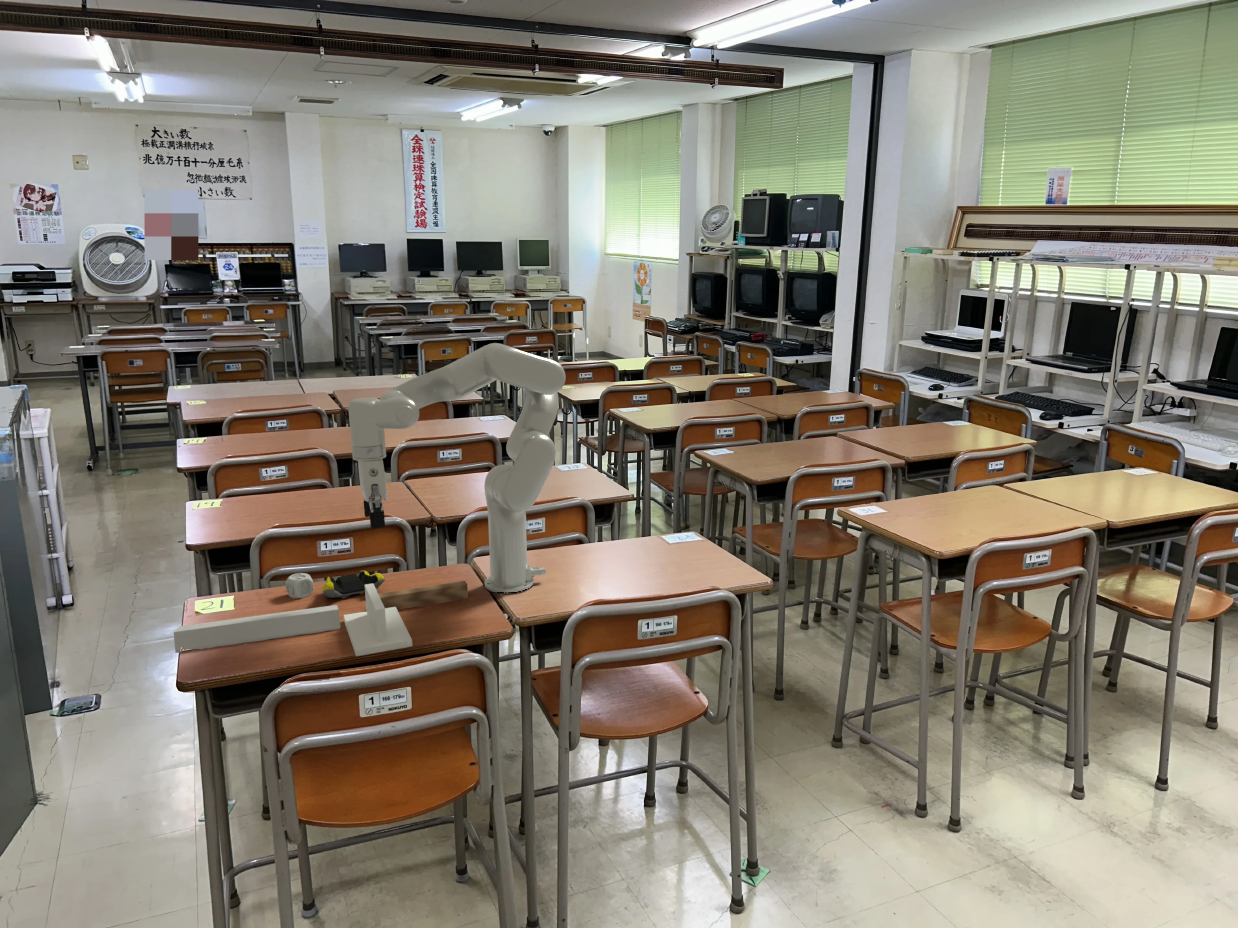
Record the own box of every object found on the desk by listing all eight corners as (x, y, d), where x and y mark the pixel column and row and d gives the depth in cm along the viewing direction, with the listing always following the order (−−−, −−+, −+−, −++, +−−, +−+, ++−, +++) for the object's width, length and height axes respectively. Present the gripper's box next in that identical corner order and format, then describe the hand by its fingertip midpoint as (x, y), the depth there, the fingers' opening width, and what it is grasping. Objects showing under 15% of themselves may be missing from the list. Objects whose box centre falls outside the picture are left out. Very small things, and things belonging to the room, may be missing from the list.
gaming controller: (387, 594, 222) (375, 582, 230) (386, 574, 221) (374, 562, 229) (326, 607, 214) (316, 593, 223) (324, 586, 213) (315, 573, 221)
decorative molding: (181, 647, 199) (175, 654, 190) (179, 626, 199) (173, 631, 190) (338, 624, 211) (340, 630, 202) (336, 604, 211) (338, 609, 202)
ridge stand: (396, 612, 211) (393, 577, 209) (412, 646, 193) (410, 607, 191) (344, 620, 206) (341, 584, 204) (355, 656, 188) (352, 617, 186)
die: (304, 589, 225) (302, 571, 224) (314, 594, 222) (313, 576, 221) (286, 595, 222) (284, 576, 220) (296, 600, 218) (294, 581, 217)
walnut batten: (465, 595, 222) (464, 580, 221) (468, 599, 220) (467, 584, 219) (367, 611, 212) (366, 595, 212) (369, 615, 210) (368, 599, 209)
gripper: (391, 457, 198) (397, 530, 202) (379, 442, 213) (385, 509, 217) (357, 461, 195) (363, 534, 199) (347, 445, 210) (353, 513, 215)
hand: (374, 521), depth 208 cm, fingers open, 9 cm apart
